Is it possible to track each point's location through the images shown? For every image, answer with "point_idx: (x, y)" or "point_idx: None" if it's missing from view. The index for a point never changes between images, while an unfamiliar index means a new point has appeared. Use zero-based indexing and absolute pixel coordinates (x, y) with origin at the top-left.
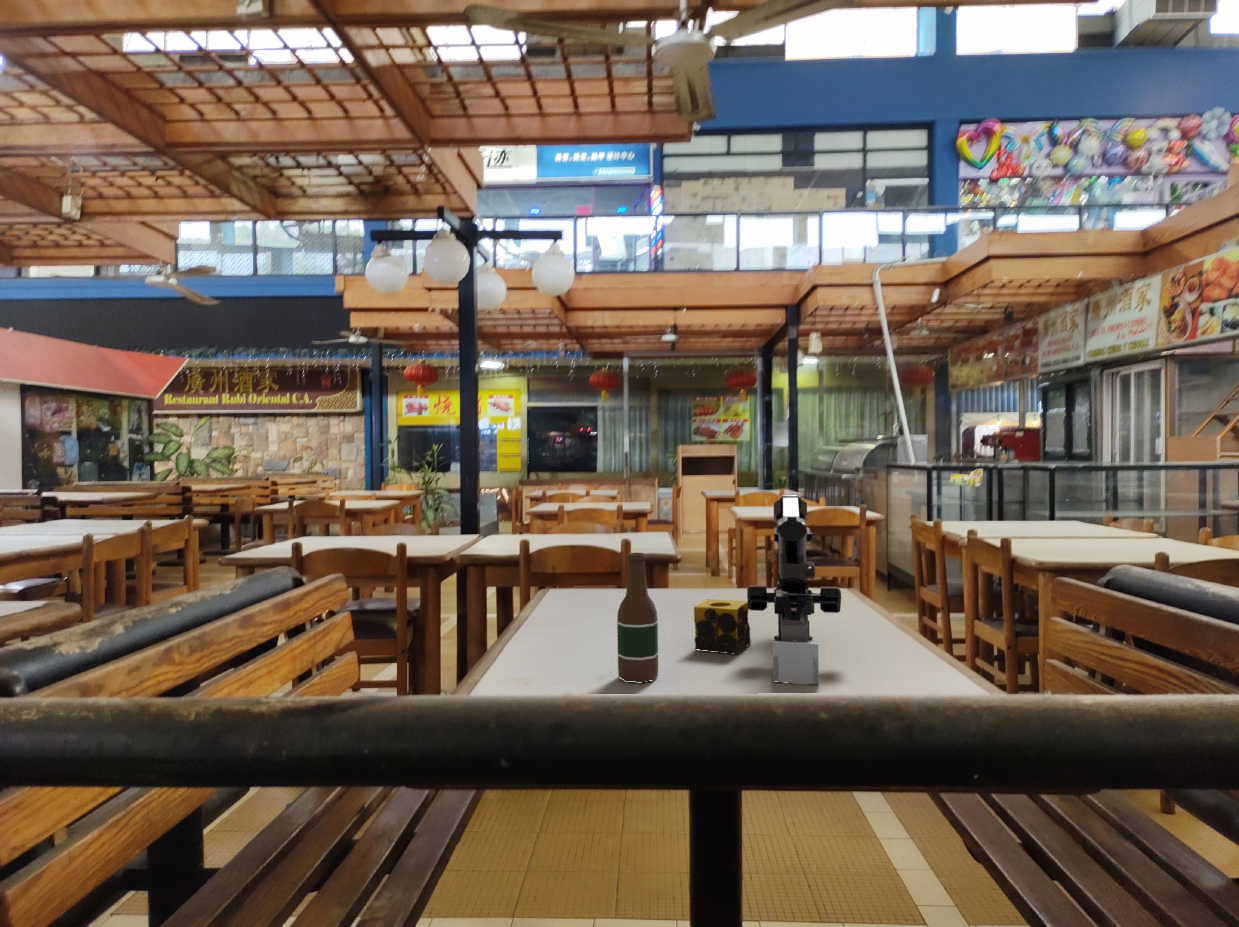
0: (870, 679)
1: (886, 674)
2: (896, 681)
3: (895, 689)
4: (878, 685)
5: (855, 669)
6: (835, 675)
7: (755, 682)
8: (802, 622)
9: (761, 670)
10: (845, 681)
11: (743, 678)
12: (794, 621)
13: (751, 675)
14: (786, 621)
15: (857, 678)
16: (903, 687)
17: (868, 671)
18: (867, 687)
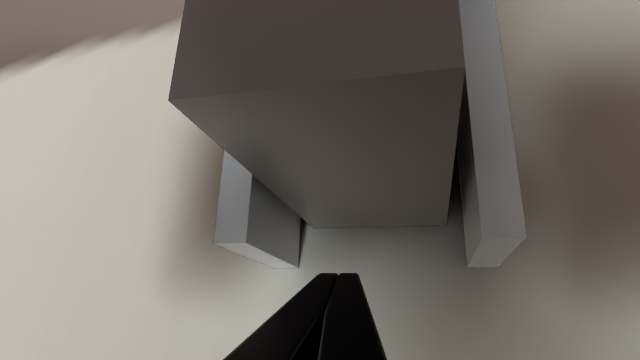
0: (91, 184)
1: (13, 267)
2: (19, 179)
3: (57, 90)
4: (90, 118)
5: (100, 329)
6: (203, 212)
7: (556, 27)
8: (228, 15)
9: (567, 229)
10: (183, 137)
11: (635, 67)
12: (304, 34)
13: (604, 125)
14: (393, 9)
15: (131, 187)
16: (27, 117)
17: (60, 302)
18: (130, 87)
